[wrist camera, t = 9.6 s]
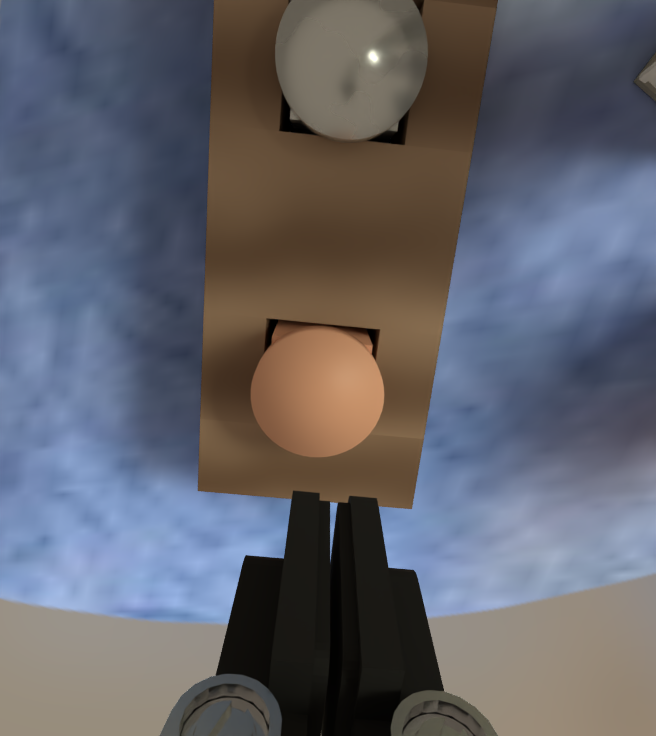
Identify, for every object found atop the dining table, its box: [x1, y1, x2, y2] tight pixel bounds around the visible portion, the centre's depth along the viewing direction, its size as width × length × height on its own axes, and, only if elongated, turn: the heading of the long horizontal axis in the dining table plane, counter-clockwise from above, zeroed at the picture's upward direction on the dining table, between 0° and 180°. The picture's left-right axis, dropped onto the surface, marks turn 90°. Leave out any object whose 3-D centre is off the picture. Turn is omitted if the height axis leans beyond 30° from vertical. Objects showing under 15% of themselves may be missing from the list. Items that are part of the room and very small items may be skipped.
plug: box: [275, 0, 428, 143], centre depth 21 cm, size 5×5×6 cm
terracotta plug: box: [251, 320, 384, 457], centre depth 23 cm, size 5×5×6 cm
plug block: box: [198, 0, 498, 509], centre depth 23 cm, size 24×10×5 cm, turn 174°
